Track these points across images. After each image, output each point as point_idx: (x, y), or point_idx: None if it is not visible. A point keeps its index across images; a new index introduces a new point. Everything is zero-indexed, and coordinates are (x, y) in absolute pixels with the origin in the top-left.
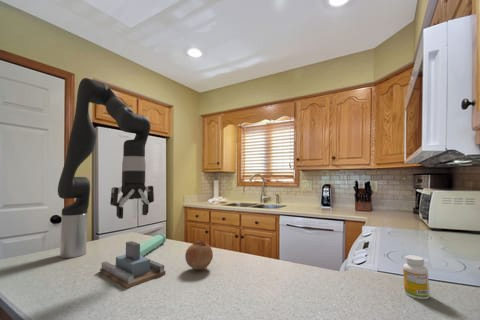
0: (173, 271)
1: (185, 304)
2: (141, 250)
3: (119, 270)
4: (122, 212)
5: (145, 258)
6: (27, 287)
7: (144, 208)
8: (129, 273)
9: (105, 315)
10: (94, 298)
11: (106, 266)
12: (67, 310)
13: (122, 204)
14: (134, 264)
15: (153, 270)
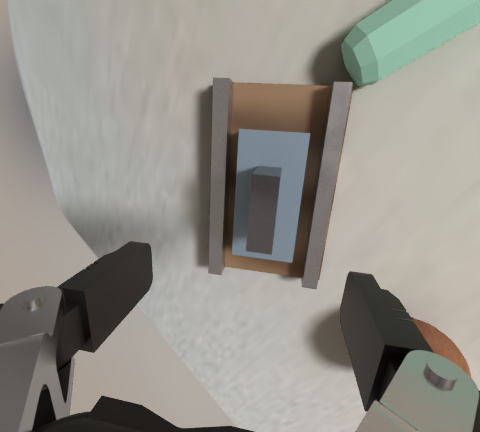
0: (344, 279)
1: (241, 392)
2: (401, 63)
3: (215, 211)
4: (120, 315)
5: (289, 242)
6: (50, 31)
7: (358, 349)
8: (221, 255)
9: (144, 314)
10: (150, 245)
11: (213, 126)
12: (105, 248)
13: (59, 380)
14: (239, 254)
15: (303, 247)
